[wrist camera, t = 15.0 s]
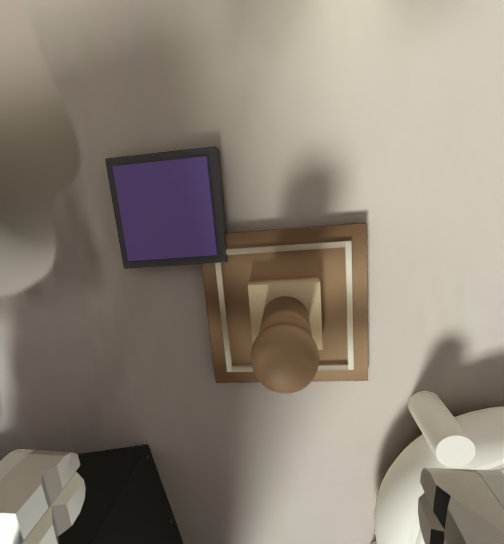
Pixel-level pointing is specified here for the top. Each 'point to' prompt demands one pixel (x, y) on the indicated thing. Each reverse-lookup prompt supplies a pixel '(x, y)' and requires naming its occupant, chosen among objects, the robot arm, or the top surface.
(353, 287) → the board
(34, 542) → the robot arm
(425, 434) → the round stand with pegs
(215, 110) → the top surface
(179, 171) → the ink pad
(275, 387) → the stamp
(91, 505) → the coffee maker
